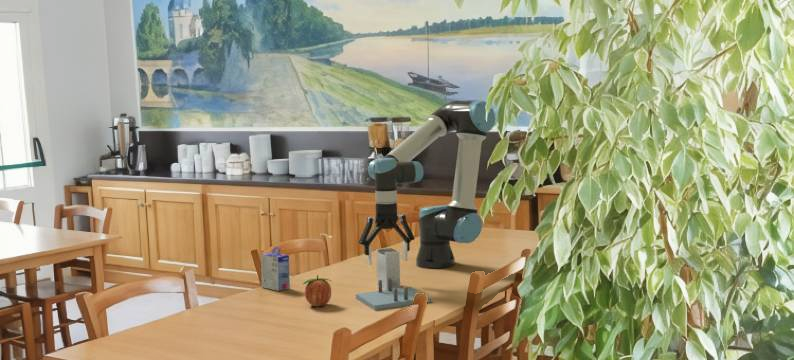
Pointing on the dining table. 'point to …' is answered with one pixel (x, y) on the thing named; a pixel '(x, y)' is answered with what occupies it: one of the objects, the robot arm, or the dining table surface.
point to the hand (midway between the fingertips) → (387, 262)
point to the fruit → (317, 291)
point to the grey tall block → (388, 267)
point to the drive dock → (388, 297)
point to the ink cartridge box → (275, 270)
